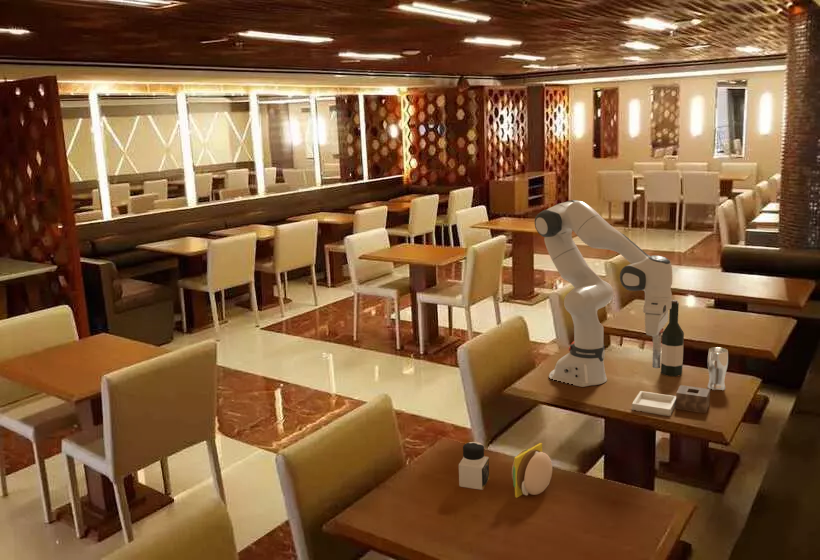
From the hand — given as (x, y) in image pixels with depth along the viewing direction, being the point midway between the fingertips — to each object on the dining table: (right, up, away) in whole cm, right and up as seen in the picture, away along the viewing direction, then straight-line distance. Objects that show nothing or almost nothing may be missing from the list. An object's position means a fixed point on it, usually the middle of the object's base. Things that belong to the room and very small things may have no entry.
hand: (656, 341), depth 249 cm
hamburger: (-52, -39, -48) cm, 80 cm away
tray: (+1, -24, +5) cm, 25 cm away
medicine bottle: (-68, -38, -42) cm, 88 cm away
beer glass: (+29, -20, +20) cm, 40 cm away
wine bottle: (+19, -16, +37) cm, 45 cm away
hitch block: (+14, -24, +4) cm, 28 cm away
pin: (+1, -9, +2) cm, 10 cm away
